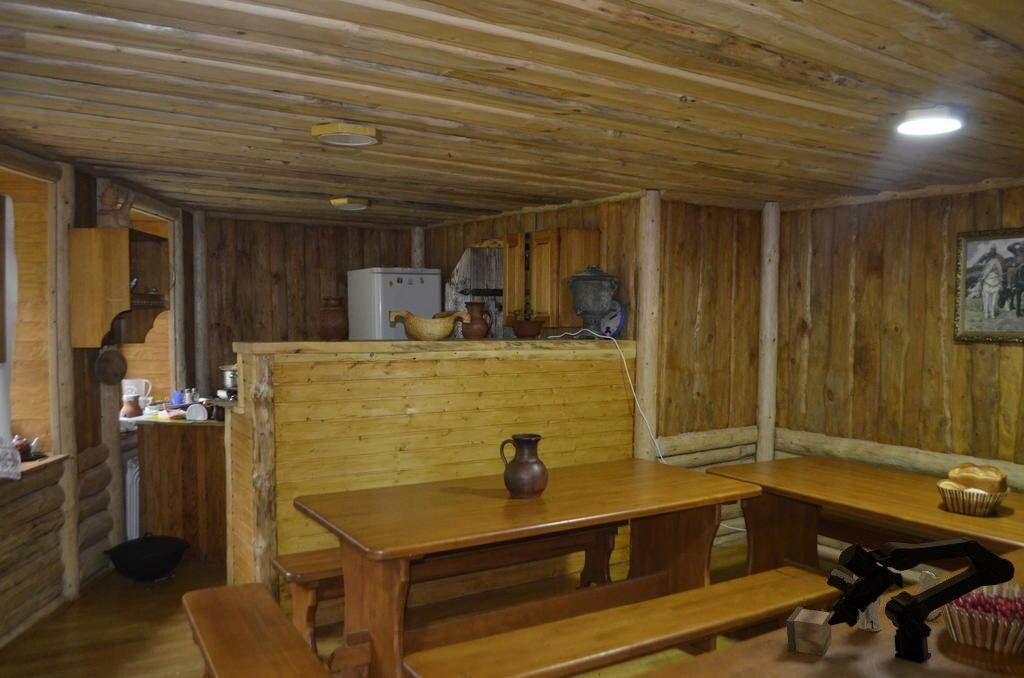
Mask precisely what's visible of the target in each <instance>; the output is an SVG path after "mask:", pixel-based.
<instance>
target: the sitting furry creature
mask: <svg viewBox="0 0 1024 678" xmlns="http://www.w3.org/2000/svg"><path fill="white" fill-rule="evenodd" d="M919 575H920V576H918V579H919V582H918V583H919V585H920V586H919V588H918V590H917V592H916V595H917V594H920V593H922V592H924V591H926V590H928V589H929V588H931V587H933V586H935V585H937V584H938V583H939V582H940V579H941V578H940V577H937V576H936V575H935V574H934V573H933V572H930V571H928V570H927V571H926V570H923V571H922V572H921V573H920V574H919ZM940 613H941V611H940V608H938V609H936V610H934V611H932V612H931V613H930V614H929V616H928V617H927V619H926V620H930V621H931V620H935V619H936V617H937V616H938V615H939V614H940Z"/></svg>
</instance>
